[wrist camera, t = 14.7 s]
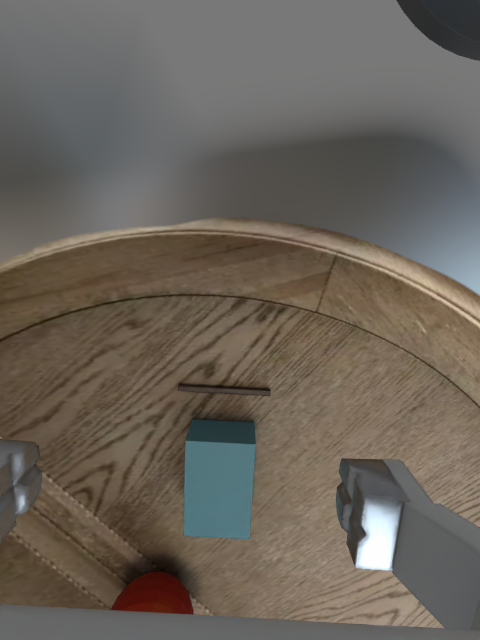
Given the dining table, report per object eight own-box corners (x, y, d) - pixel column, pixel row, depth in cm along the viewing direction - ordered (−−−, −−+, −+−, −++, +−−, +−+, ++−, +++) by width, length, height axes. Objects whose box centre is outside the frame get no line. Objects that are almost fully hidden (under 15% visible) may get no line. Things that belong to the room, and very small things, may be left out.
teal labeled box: (183, 536, 35) (189, 505, 40) (249, 540, 35) (249, 508, 40) (185, 440, 33) (192, 418, 38) (255, 444, 33) (254, 422, 37)
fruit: (161, 541, 41) (135, 631, 31) (213, 591, 42) (203, 694, 32) (105, 582, 42) (63, 683, 32) (157, 630, 43) (131, 741, 33)
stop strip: (179, 383, 37) (178, 386, 36) (270, 388, 37) (270, 391, 36) (179, 389, 37) (178, 391, 36) (269, 394, 37) (270, 396, 36)
